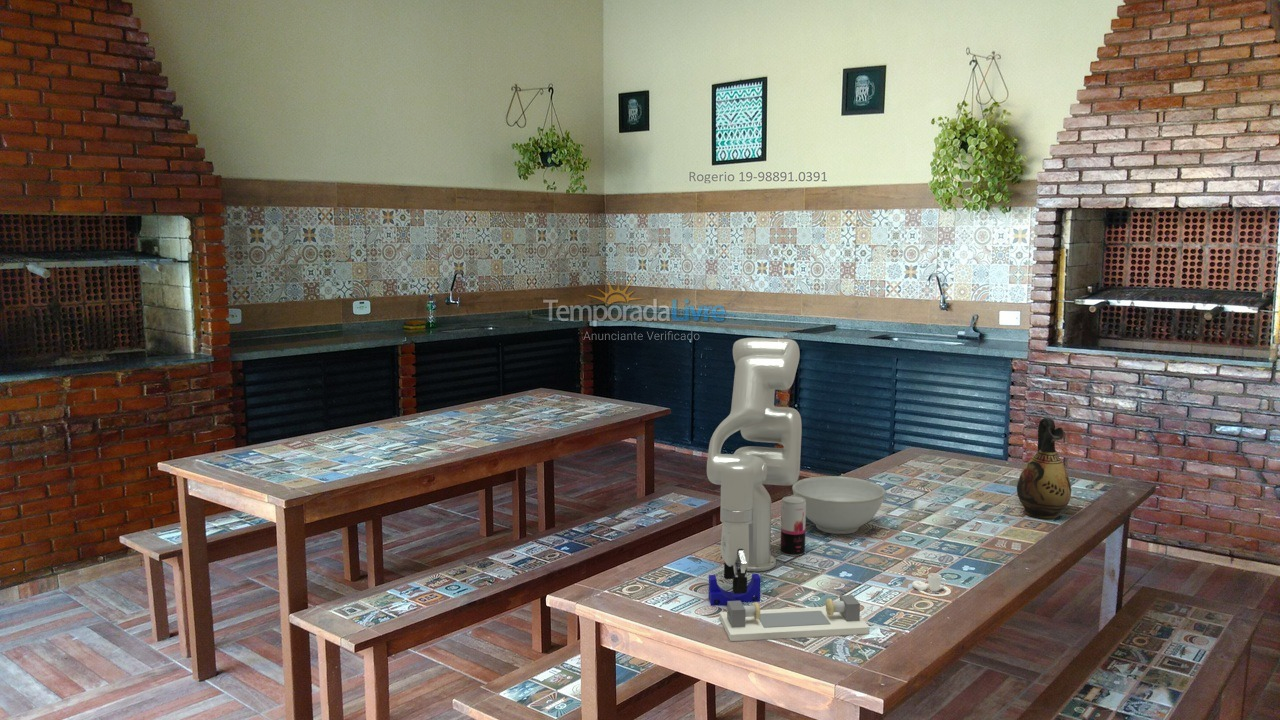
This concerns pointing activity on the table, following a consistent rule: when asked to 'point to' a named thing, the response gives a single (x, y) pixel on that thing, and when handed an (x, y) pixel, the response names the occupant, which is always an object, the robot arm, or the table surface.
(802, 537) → the beverage can
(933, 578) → the teacup and saucer
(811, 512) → the decorative bowl
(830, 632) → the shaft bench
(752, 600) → the blue cradle bracket
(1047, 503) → the ceramic jug
